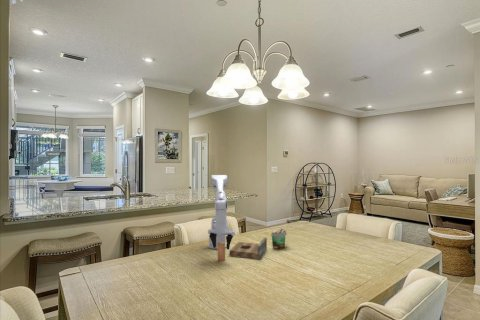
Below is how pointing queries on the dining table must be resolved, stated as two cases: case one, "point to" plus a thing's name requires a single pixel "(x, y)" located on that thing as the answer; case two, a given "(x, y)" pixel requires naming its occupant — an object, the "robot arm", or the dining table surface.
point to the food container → (279, 239)
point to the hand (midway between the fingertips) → (221, 248)
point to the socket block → (249, 249)
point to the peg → (221, 251)
